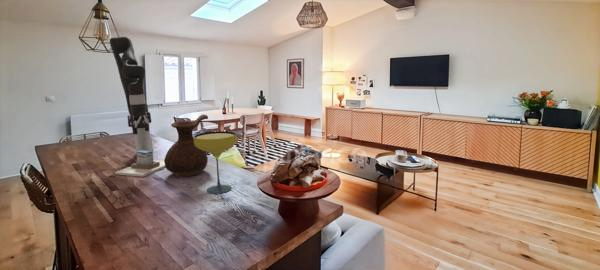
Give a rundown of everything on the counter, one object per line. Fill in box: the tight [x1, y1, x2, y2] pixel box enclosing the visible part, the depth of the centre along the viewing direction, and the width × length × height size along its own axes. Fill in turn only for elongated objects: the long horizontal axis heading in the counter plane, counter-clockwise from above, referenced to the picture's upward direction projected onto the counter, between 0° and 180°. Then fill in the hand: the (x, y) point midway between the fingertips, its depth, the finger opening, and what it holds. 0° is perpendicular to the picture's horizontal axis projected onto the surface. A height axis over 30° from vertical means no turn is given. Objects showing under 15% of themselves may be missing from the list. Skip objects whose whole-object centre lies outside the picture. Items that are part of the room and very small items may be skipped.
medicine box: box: [136, 150, 154, 165], centre depth 178 cm, size 8×4×9 cm, turn 65°
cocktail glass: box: [193, 130, 238, 195], centre depth 143 cm, size 18×18×25 cm
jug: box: [163, 114, 209, 178], centre depth 167 cm, size 22×22×30 cm
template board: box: [114, 159, 166, 177], centre depth 179 cm, size 24×18×3 cm
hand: (141, 132), depth 176 cm, fingers open, 8 cm apart
